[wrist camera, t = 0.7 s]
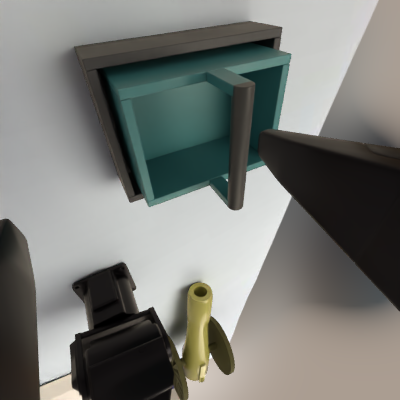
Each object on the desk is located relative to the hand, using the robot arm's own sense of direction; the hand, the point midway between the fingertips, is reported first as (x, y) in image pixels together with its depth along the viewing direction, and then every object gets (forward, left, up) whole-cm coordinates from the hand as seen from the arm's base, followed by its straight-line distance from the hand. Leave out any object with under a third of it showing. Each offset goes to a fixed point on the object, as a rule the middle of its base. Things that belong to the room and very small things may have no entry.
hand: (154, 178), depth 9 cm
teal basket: (-3, -6, -13) cm, 15 cm away
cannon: (-46, -3, -14) cm, 49 cm away
